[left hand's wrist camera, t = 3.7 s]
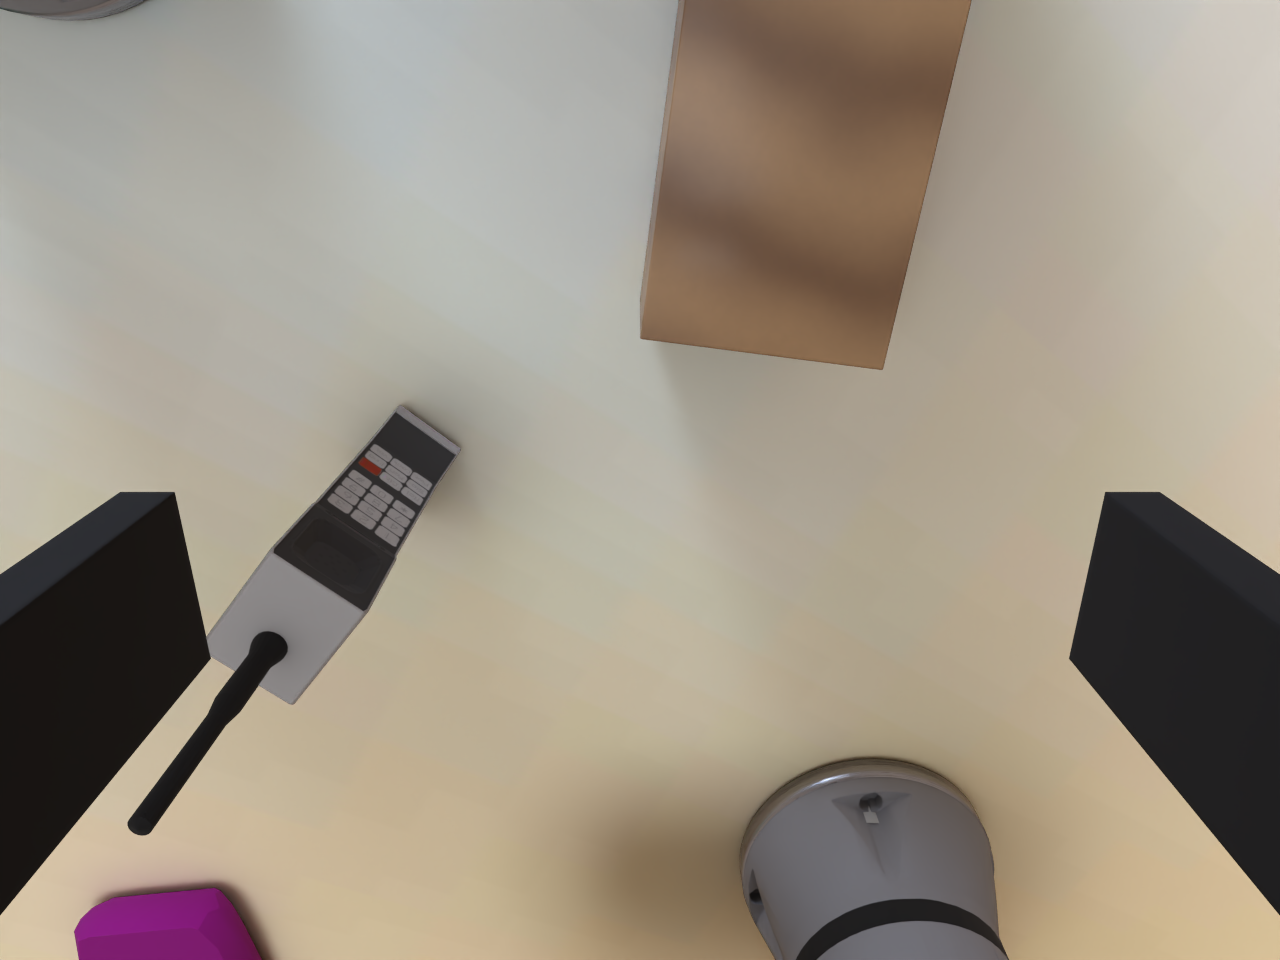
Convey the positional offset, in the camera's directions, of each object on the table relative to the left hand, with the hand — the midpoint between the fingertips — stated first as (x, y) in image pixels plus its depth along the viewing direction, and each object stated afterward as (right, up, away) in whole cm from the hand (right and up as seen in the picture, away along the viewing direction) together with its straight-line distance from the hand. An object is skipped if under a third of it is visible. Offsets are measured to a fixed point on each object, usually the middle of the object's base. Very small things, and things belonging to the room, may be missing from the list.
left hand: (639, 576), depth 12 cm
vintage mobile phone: (-12, +2, +32) cm, 34 cm away
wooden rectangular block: (+6, +19, +25) cm, 32 cm away
